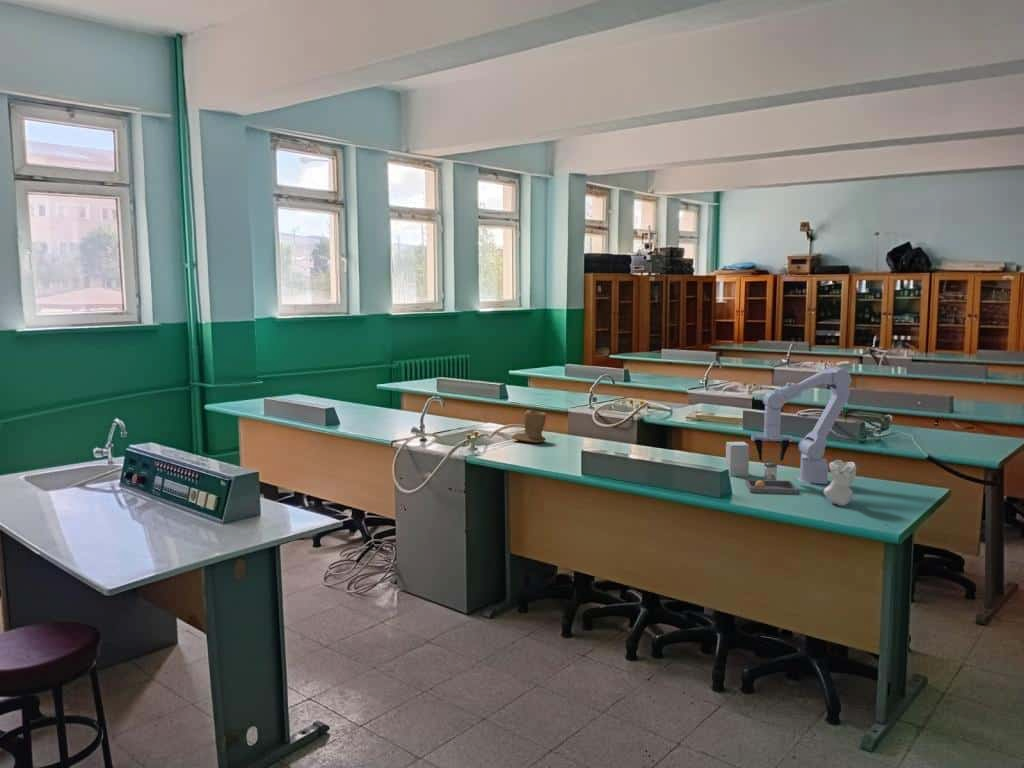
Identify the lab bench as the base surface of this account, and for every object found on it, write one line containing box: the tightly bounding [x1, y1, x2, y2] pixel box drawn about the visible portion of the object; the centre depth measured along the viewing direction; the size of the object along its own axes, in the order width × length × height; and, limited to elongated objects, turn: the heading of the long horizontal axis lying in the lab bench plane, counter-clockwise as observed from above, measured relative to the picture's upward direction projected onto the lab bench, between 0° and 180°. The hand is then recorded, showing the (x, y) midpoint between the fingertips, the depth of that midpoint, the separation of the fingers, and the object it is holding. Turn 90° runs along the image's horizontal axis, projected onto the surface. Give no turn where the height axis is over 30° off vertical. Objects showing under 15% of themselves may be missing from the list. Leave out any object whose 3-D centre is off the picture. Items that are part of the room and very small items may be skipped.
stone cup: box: [511, 409, 547, 443], centre depth 375 cm, size 15×12×15 cm
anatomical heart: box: [823, 459, 857, 507], centre depth 265 cm, size 10×11×15 cm
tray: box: [744, 479, 798, 495], centre depth 286 cm, size 16×12×2 cm
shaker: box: [763, 461, 778, 481], centre depth 297 cm, size 5×5×7 cm
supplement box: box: [725, 441, 750, 477], centre depth 308 cm, size 7×7×13 cm
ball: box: [755, 481, 765, 488], centre depth 284 cm, size 4×4×4 cm
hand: (770, 459), depth 296 cm, fingers open, 7 cm apart
